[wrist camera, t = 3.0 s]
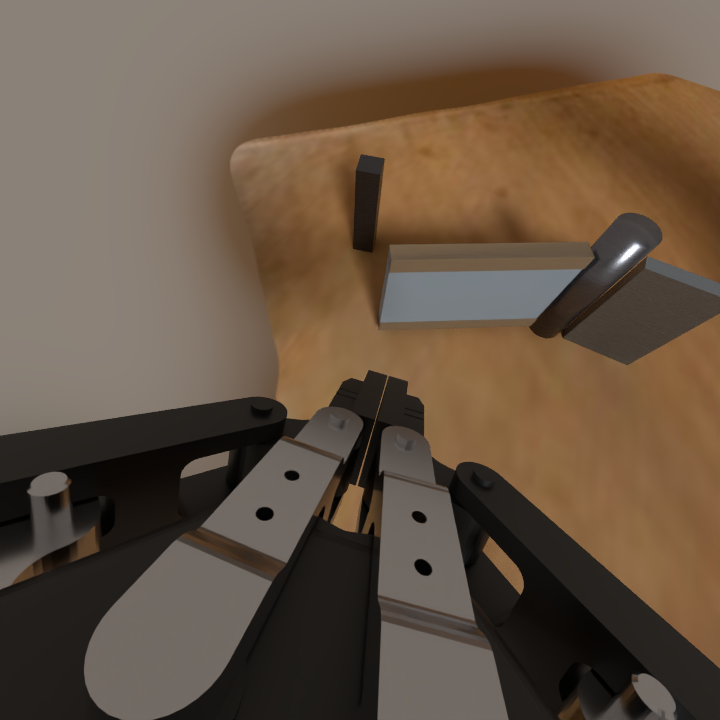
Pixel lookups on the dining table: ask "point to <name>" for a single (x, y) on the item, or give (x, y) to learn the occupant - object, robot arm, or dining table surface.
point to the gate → (475, 283)
